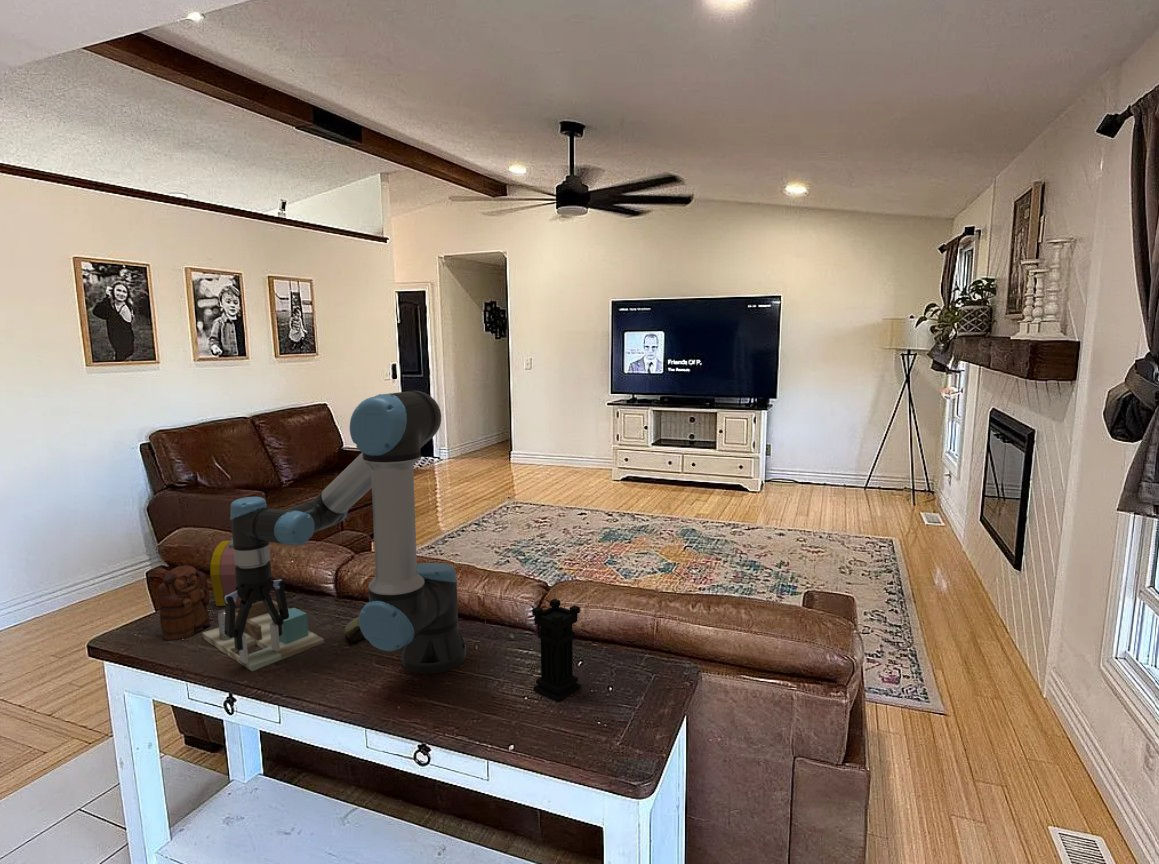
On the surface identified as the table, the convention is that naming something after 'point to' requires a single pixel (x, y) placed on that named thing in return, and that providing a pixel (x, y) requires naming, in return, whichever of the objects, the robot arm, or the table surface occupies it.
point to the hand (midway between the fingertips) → (260, 655)
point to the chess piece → (556, 650)
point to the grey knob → (222, 625)
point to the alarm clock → (223, 572)
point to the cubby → (254, 611)
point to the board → (262, 645)
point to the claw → (354, 630)
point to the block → (294, 626)
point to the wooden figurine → (183, 602)
